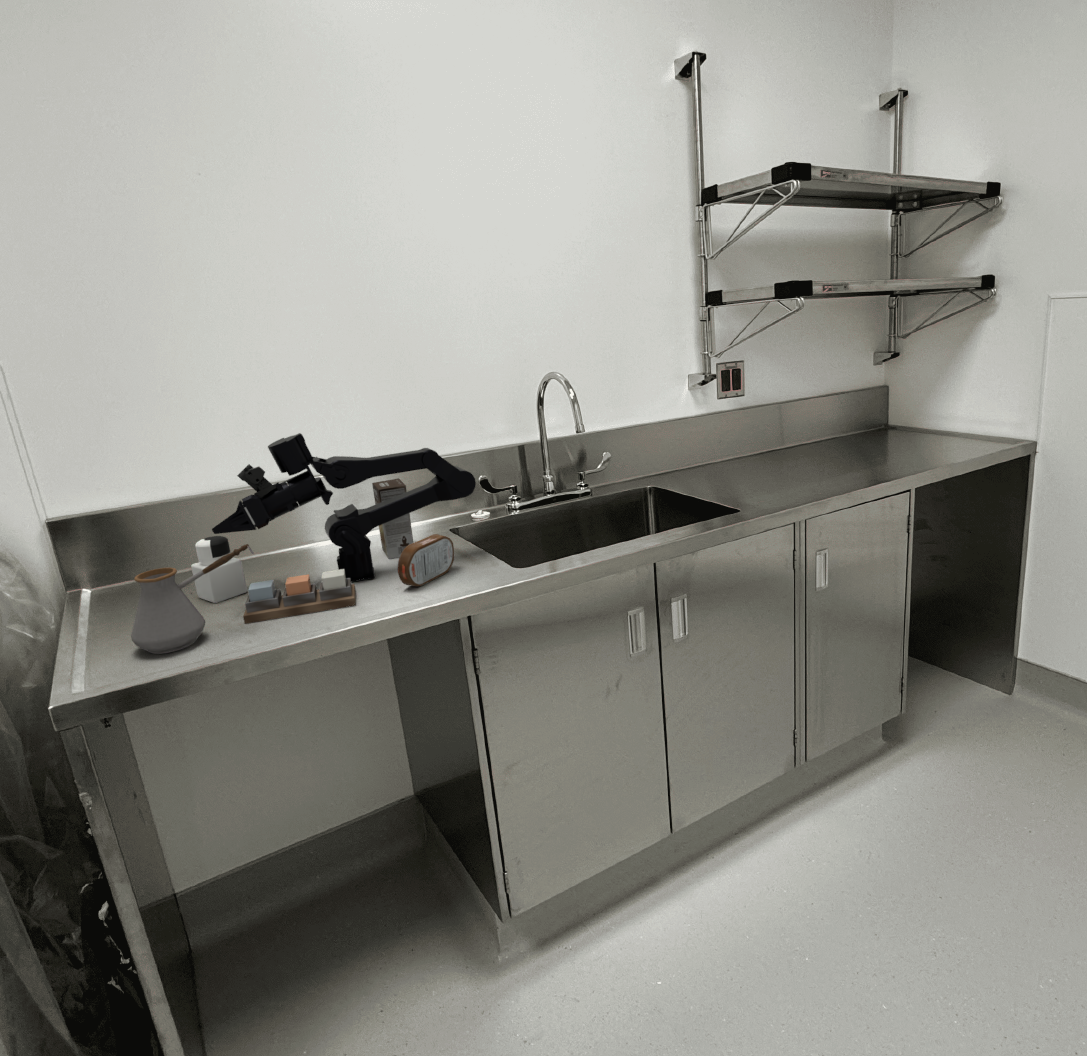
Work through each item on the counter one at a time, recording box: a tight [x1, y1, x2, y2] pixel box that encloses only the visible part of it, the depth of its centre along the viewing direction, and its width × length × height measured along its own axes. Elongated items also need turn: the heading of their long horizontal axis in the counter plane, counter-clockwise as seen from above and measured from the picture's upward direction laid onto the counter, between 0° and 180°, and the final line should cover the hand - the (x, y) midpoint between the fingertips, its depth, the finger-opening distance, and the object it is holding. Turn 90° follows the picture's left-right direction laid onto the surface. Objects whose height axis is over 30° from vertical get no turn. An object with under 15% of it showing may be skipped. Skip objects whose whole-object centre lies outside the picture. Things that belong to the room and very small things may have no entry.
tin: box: [397, 533, 455, 587], centre depth 146 cm, size 15×3×8 cm, turn 149°
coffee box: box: [371, 478, 415, 560], centre depth 165 cm, size 9×6×16 cm
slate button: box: [247, 579, 276, 602], centre depth 136 cm, size 4×4×3 cm
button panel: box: [242, 578, 357, 625], centre depth 138 cm, size 20×8×3 cm, turn 104°
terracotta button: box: [284, 573, 312, 596], centre depth 137 cm, size 4×4×3 cm
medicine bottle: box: [190, 535, 248, 604], centre depth 147 cm, size 7×7×12 cm
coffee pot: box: [130, 543, 255, 655], centre depth 126 cm, size 21×12×15 cm, turn 115°
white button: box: [321, 569, 347, 590], centre depth 138 cm, size 4×4×3 cm
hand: (215, 530), depth 139 cm, fingers open, 9 cm apart
